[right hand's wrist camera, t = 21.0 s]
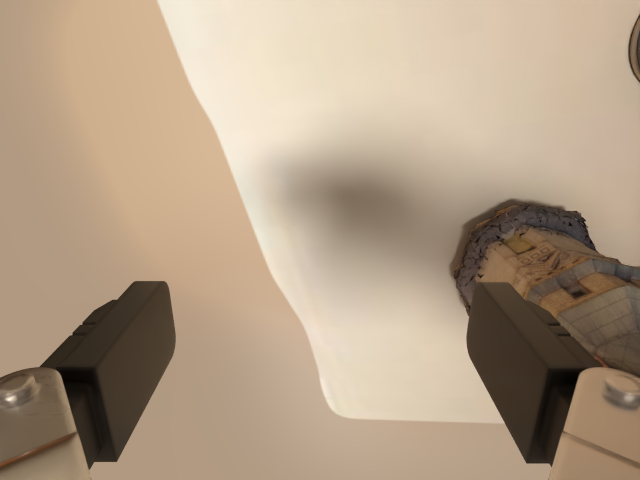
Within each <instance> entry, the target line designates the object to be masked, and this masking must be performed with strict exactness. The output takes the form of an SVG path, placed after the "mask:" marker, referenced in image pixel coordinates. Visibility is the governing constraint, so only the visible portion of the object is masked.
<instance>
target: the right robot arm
mask: <svg viewBox="0 0 640 480" xmlns="http://www.w3.org/2000/svg"><path fill="white" fill-rule="evenodd" d="M630 58H631V64H632V67H633V70H634V72H635V74H636V76H637V77H638V79H639V80H640V17H639V19H638V21H637V23H636V26H635V28H634V31H633V34H632V38H631V44H630ZM560 324H561V323H560V322H559V321H558V320H557V319H556V318H555V317H554V316H553V315H552V314H551V313H550V312H549V311H547V310H546V309H544V308H542V307H540V306H539V305H537V304H535V303H533V302H532V301H526V300H525V299H524V298H523V297H522V296H521V295H520V294H519V293H518V292H517V291H516V290H515V289H514V287H513V286H512V285H511V284H510V283H508V282H477V283H476V284H475V286H474V289H473V295H472V302H471V308H470V315H469V322H468V329H467V349H468V353H469V356H470V359H471V361H472V362H473V364H474V366H475V368H476V370H477V372H478V374H479V376H480V377H481V379H482V381H483V383H484V385H485V387H486V389H487V390H488V392H489V394H490V396H491V398H492V400H493V402H494V404H495V405H496V407H497V409H498V411H499V413H500V415H501V417H502V418H503V420H504V422H505V424H506V426H507V428H508V430H509V431H510V433H511V435H512V437H513V439H514V441H515V443H516V445H517V446H518V448H519V450H520V452H521V454H522V456H523V458H524V459H525V461H526V463H549V464H550V465H551V467H552V469H551V472H550V476H549V479H548V480H640V378H639V377H637V376H635V375H632V374H629V373H627V372H624V371H620V370H616V369H611V368H604V367H603V366H602V365H601V364H600V363H599V362H598V361H597V360H596V359H595V358H594V357H593V356H592V355H591V354H590V353H589V352H588V351H587V350H586V349H585V348H584V347H583V346H582V345H581V344H580V343H579V342H578V341H577V340H576V339H575V338H574V337H571V334H570V333H569V332H568V331H567V330H566V329H565V328H564V327H563V326H561V325H560ZM175 341H176V335H175V327H174V320H173V313H172V306H171V299H170V292H169V287H168V285H167V283H166V282H165V281H135V282H133V283H132V284H131V285H130V286H129V287H128V289H127V290H126V291H125V292H124V293H123V294H122V295H121V296H120V297H119V298H118V299H117V300H112V301H110V302H108V303H106V304H105V305H103V306H101V307H99V308H98V309H96V310H94V311H93V312H92V313H91V314H90V315H89V316H88V318H86V320H85V321H84V322H83V324H82V325H80V326H79V327H78V328H77V329H76V330H75V331H74V332H73V335H72V336H69V337H68V338H67V339H66V340H65V341H64V342H63V343H62V344H61V345H60V346H59V347H58V348H57V349H56V350H55V351H54V352H53V354H52V355H51V356H50V357H49V358H48V359H47V360H46V361H45V362H44V363H43V364H42V365H41V366H40V367H36V368H29V369H24V370H20V371H16V372H13V373H11V374H8V375H5V376H3V377H1V378H0V480H92V479H91V476H90V472H89V470H90V468H91V466H92V465H93V463H94V462H117V460H118V458H119V457H120V455H121V453H122V451H123V449H124V447H125V445H126V443H127V441H128V440H129V438H130V436H131V434H132V432H133V430H134V428H135V426H136V424H137V423H138V421H139V419H140V417H141V415H142V413H143V411H144V409H145V407H146V406H147V404H148V402H149V400H150V398H151V396H152V394H153V392H154V391H155V389H156V387H157V385H158V383H159V381H160V379H161V377H162V375H163V374H164V372H165V370H166V368H167V366H168V364H169V362H170V360H171V358H172V356H173V353H174V349H175Z"/></svg>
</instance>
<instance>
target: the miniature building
mask: <svg viewBox="0 0 640 480" xmlns="http://www.w3.org/2000/svg"><path fill="white" fill-rule="evenodd" d="M495 214H496V216H494V217H493V218H491V219H488V220H486V221H484V222H481V223H479V224H477V226H476V227H475V228H474V229H471V230H470V231H469V234H471V235H472V237H471V239H470V241H469V242H468V244H467V245H466V247H465V249H464V252H463V255H462V257H461V260H460V262H459V264H458V266H457V268H456V270H455V271H454V278H455V279H456V280H457V282H456V286H457V289H458V290H459V291H460V293H461V296H462V297H463V299H464V301H465V302H464V305H465V308H466V311H467V313H468V316H469V315H470V308H471V302H472V295H473V289H474V286H475V284H476V283H477V282H482V281H483V282H508V283H510V284H511V285H512V286H513V287H514V289H515V290H516V291H517V292H518V293H519V294H520V295H521V296H522V297H523V298H524V299H525V300H526V301H532V302H533V303H535V304H537V305H539V306H540V307H542V308H544V309H546V310H547V311H549V312H550V313H551V314H552V315H553V316H554V317H555V318H556V319H557V320H558V321H559V322H560V323H561V324H560V325H561V326H563V327H564V328H565V329H566V330H567V331H568V332H569V333H570V334H571V337H574V338H575V339H576V340H577V341H578V342H579V343H580V344H581V345H582V346H583V347H584V348H585V349H586V350H587V351H588V352H589V353H590V354H591V355H592V356H593V357H594V358H595V359H596V360H597V361H598V362H599V363H600V364H601V365H602V366H603V367H604V368H611V369H616V370H620V371H624V372H627V373H629V374H632V375H635V376H637V377H639V378H640V267H633V266H628V265H623V264H621V263H620V261H619V260H618V259H614V258H609V257H605V256H603V255H601V254H600V253H599V252H597V251H596V249H595V246H594V244H593V242H592V241H591V239H590V237H589V234H588V230H587V229H586V227H587V226H586V224H585V223H584V221H586V220H585V219H584V218H583V217H581V213H578V212H577V211H564V210H558V209H554V208H551V207H535V206H533V205H528V204H526V203H518V204H516V205H512V206H510V207H507V208H505V209H502V210H499V211H496V210H495ZM517 215H518V216H517ZM515 218H516V219H519V220H516V221H514V219H515ZM530 218H532V219H530ZM526 219H527V221H528V222H527V223H528V224H527V223H525V222H526ZM528 219H529V220H528ZM546 219H547V220H546ZM540 220H541V222H540ZM506 222H507V223H506ZM580 222H581V223H580ZM582 223H583V224H584V225H583V224H582ZM532 225H533V226H535V228H534V227H533V226H532ZM540 225H541V227H540ZM581 226H582V227H581ZM500 227H501V231H500V230H499V229H498V228H500ZM526 228H527V230H528V229H529V230H528V231H527V230H526ZM587 228H588V227H587ZM584 229H585V230H584ZM540 230H549V231H540ZM484 232H485V233H484ZM514 232H515V235H514ZM550 232H551V233H552V235H551V233H550ZM521 233H525V234H523V235H521V236H520V234H521ZM496 235H497V236H499V237H501V238H500V239H497V237H496ZM563 235H564V236H563ZM492 236H493V237H492ZM565 236H566V237H565ZM479 237H480V239H479V241H478V243H476V242H477V239H478V238H479ZM487 238H491V239H487ZM493 238H494V239H493ZM502 238H503V239H505V240H504V241H503V240H502ZM519 238H520V240H519ZM516 239H517V240H516ZM486 240H487V241H486ZM493 240H495V241H493ZM499 240H501V241H503V243H504V244H502V242H501V241H499ZM485 241H486V243H485ZM484 243H485V244H484ZM477 244H478V245H477ZM499 244H502V245H501V246H500V245H499ZM476 245H477V247H476ZM504 245H505V246H504ZM506 246H507V247H506ZM475 247H476V248H475ZM487 248H488V249H489V250H488V249H487ZM480 249H481V252H482V253H480ZM485 249H486V250H485ZM495 249H496V250H495ZM474 250H475V251H474ZM489 251H490V252H489ZM479 253H480V254H479ZM484 254H485V255H484ZM479 255H481V256H482V257H481V259H480V256H479ZM483 255H484V256H485V257H486V258H487V259H488V260H486V258H485V257H484V256H483ZM472 257H473V258H474V259H473V258H472ZM478 258H479V259H478ZM476 259H478V260H479V261H478V260H476ZM475 262H476V263H477V264H478V265H479V266H478V265H477V264H476V263H475ZM475 264H476V265H475ZM464 265H465V267H464ZM462 266H463V267H464V268H463V267H462ZM461 267H462V268H461ZM479 267H480V269H479V270H478V268H479ZM474 273H475V274H474ZM478 274H480V276H481V275H483V274H484V275H483V276H482V277H481V279H480V277H478ZM473 278H474V279H473Z"/></svg>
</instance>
